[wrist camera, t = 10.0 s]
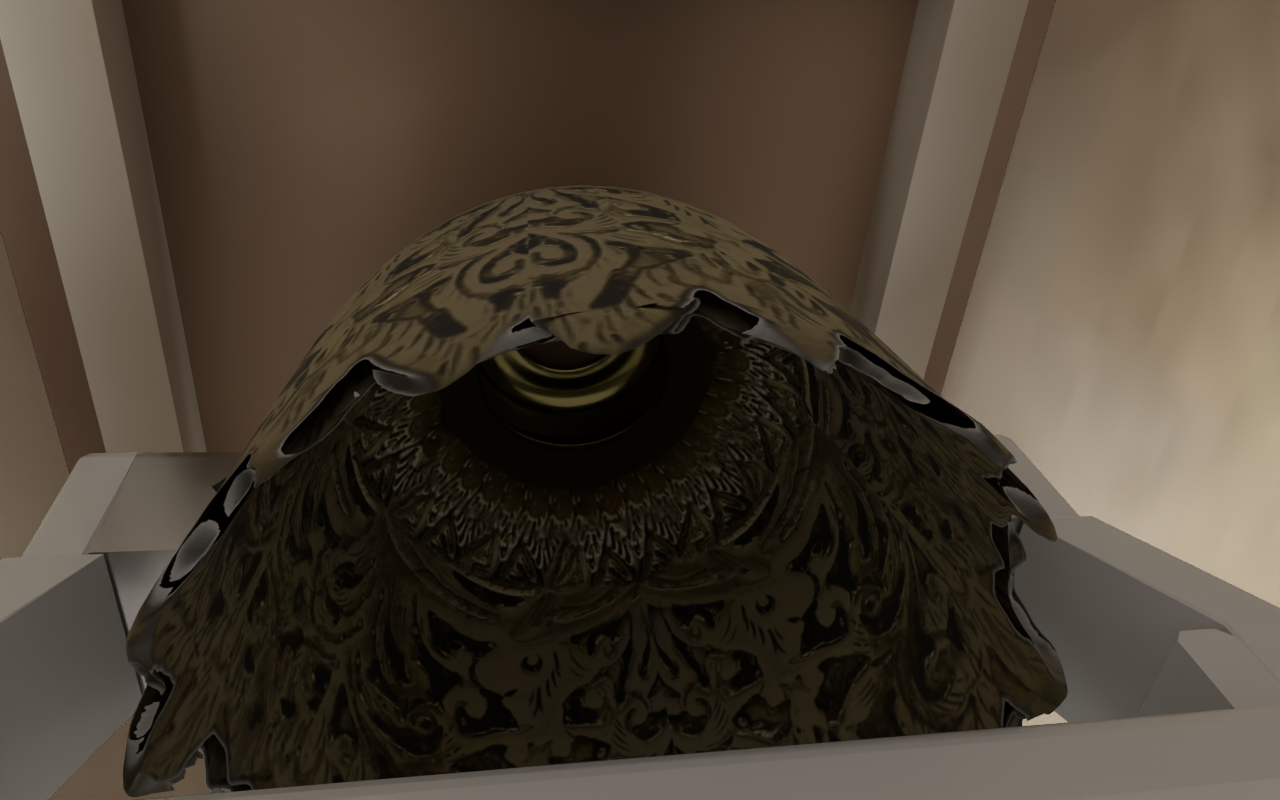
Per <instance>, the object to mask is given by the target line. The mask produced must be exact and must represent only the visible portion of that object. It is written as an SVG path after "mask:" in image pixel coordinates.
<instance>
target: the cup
mask: <svg viewBox="0 0 1280 800" xmlns="http://www.w3.org/2000/svg"><path fill="white" fill-rule="evenodd" d="M555 341H563V342H564V343H565V344H567V345H568V346H569V347H570V348H573V349H576V350H579V351H583V352H587V353H591V354H601V355H599V356H598V357H596V358H594V359H592V360H590V361H588V362H585V363H582V364H578V365H572V366H558V365H552V364H548V363H545V362H542V361H540V360H538V359H536V358H535V357H533V356H532V355H530V354H529V353H528V352H527V351H526V350H525V349H524V348H526V347H528V346H530V345H532V344H535V343H536V345H538V344H544V343H548V342H555ZM1015 463H1017V461H1016V459H1015V457H1014V456H1013V455H1012V453H1011V452H1010V451H1009V450H1008V449H1007V448H1006V447H1005V446H1004V445H1003V444H1002V443H1001V442H1000V441H999V440H998V439H997V438H996V437H995V436H994V435H993V434H992V433H991V432H990V431H989V430H987V429H986V428H985V427H984V426H983V425H982V424H981V423H979V422H978V421H976V420H975V419H974V418H972V417H971V416H969V415H968V414H966V413H965V412H963V411H962V410H960V409H959V408H957V407H956V406H954V405H952V404H951V403H949V402H948V401H946V400H944V399H943V398H942V397H941V396H940V395H939V394H938V393H937V392H936V391H935V390H934V389H932V388H931V387H930V386H929V385H928V384H927V383H926V382H925V381H924V380H923V379H922V378H921V377H920V376H919V375H918V374H917V373H916V372H914V371H913V370H912V369H911V368H910V367H909V366H908V365H907V364H906V363H905V362H904V361H903V360H902V359H901V358H900V357H899V356H897V355H896V354H895V353H894V352H893V351H892V350H891V349H890V348H889V347H888V346H887V345H886V344H885V343H884V342H882V341H881V340H880V339H879V338H878V337H877V336H876V335H875V334H874V333H873V332H872V331H871V330H870V329H868V328H867V327H866V326H865V325H864V324H863V323H862V322H861V321H860V320H858V319H857V318H856V317H855V316H854V315H853V314H852V313H851V312H850V311H849V310H847V309H846V308H845V307H844V306H843V305H842V304H841V303H839V302H838V301H837V300H836V299H835V298H834V297H833V296H832V295H830V294H829V293H828V292H827V291H826V290H825V289H824V288H822V287H821V286H820V285H819V284H818V283H817V282H815V281H814V280H813V279H812V278H811V277H810V276H808V275H807V274H806V273H805V272H803V271H802V270H801V269H799V268H798V267H797V266H796V265H794V264H793V263H792V262H790V261H789V260H788V259H786V258H785V257H784V256H782V255H781V254H779V253H778V252H777V251H775V250H774V249H772V248H771V247H770V246H768V245H767V244H765V243H764V242H763V241H761V240H759V239H758V238H756V237H755V236H753V235H751V234H750V233H748V232H747V231H745V230H743V229H741V228H739V227H738V226H736V225H734V224H732V223H730V222H728V221H726V220H725V219H723V218H721V217H719V216H717V215H715V214H712V213H710V212H707V211H705V210H702V209H700V208H697V207H695V206H692V205H690V204H687V203H684V202H681V201H678V200H675V199H672V198H668V197H665V196H661V195H657V194H653V193H650V192H646V191H640V190H634V189H627V188H621V187H614V186H590V185H577V186H562V187H549V188H543V189H538V190H532V191H526V192H521V193H516V194H513V195H509V196H506V197H503V198H499V199H496V200H492V201H489V202H486V203H484V204H481V205H479V206H476V207H474V208H472V209H469V210H467V211H465V212H462V213H460V214H457V215H455V216H454V217H452V218H450V219H448V220H447V221H445V222H443V223H441V224H439V225H438V226H436V227H434V228H432V229H430V230H429V231H427V232H426V233H424V234H423V235H421V236H420V237H418V238H417V239H415V240H414V241H413V242H411V243H410V244H409V245H407V246H406V247H404V248H403V249H402V250H400V251H399V252H398V253H396V254H395V255H393V256H392V257H391V258H390V259H389V260H388V261H386V262H385V263H384V264H383V265H382V266H381V267H380V268H379V269H378V270H377V271H376V272H375V273H374V274H372V275H371V276H370V277H369V278H368V279H367V280H366V281H365V282H364V283H363V284H362V286H361V287H360V288H359V289H358V290H357V291H356V292H355V293H354V294H353V295H352V296H351V298H350V299H349V300H348V301H347V302H346V303H345V305H344V306H343V307H342V308H341V309H340V311H339V312H338V313H337V314H336V315H335V317H334V318H333V319H332V320H331V321H330V323H329V324H328V325H327V327H326V328H325V329H324V331H323V332H322V333H321V335H320V336H319V337H318V339H317V340H316V341H315V343H314V344H313V346H312V347H311V349H310V350H309V352H308V353H307V355H306V356H305V357H304V359H303V360H302V362H301V363H300V365H299V366H298V368H297V369H296V371H295V372H294V374H293V375H292V377H291V378H290V380H289V381H288V383H287V384H286V386H285V387H284V389H283V391H282V392H281V394H280V395H279V397H278V398H277V400H276V401H275V403H274V404H273V406H272V407H271V409H270V411H269V412H268V414H267V415H266V417H265V418H264V420H263V421H262V423H261V425H260V426H259V428H258V429H257V431H256V432H255V434H254V436H253V437H252V439H251V440H250V442H249V443H248V445H247V446H246V448H245V450H244V451H243V453H242V454H241V456H240V457H239V459H238V461H237V462H236V464H235V465H234V467H233V468H232V470H231V472H230V473H229V475H228V476H227V478H226V480H225V481H224V483H223V484H222V486H221V488H220V489H219V490H218V492H217V493H216V495H215V496H214V497H213V499H212V500H211V501H210V503H209V504H208V506H207V507H206V509H205V510H204V512H203V513H202V515H201V516H200V518H199V519H198V521H197V522H196V524H195V525H194V527H193V528H192V529H191V531H190V532H189V533H188V535H187V536H186V538H185V539H184V541H183V542H182V544H181V545H180V547H179V548H178V550H177V551H176V553H175V554H174V556H173V557H172V559H171V560H170V562H169V563H168V565H167V566H166V568H165V569H164V571H163V572H162V574H161V575H160V577H159V578H158V580H157V581H156V583H155V585H154V586H153V588H152V590H151V591H150V593H149V595H148V596H147V598H146V599H145V601H144V603H143V604H142V606H141V608H140V609H139V612H138V614H137V616H136V618H135V620H134V622H133V624H132V627H131V629H130V631H129V633H128V636H127V640H126V653H127V657H128V663H130V664H131V666H132V667H134V669H135V671H136V672H137V673H138V674H140V675H142V676H144V677H145V682H146V684H147V686H146V688H145V690H144V692H143V695H142V697H141V699H140V701H139V703H138V707H137V709H136V711H135V714H134V716H133V719H132V722H131V725H130V729H129V734H128V740H127V746H126V753H125V760H124V769H123V785H124V790H125V792H126V793H127V795H128V796H131V797H138V796H143V795H147V794H152V793H158V792H165V791H172V790H174V788H173V787H172V786H171V785H173V784H174V783H177V782H178V781H180V780H182V779H184V774H185V768H188V767H190V766H193V765H195V762H196V760H197V758H202V759H203V757H204V756H203V755H202V754H201V753H200V752H199V751H198V750H197V749H198V748H199V747H200V748H201V749H203V752H204V755H205V765H206V783H207V786H208V787H209V788H210V789H213V791H212V792H211V794H213V793H224V791H222V790H221V789H220V788H227V789H230V790H231V792H236V791H248V790H260V789H272V788H284V787H296V786H307V785H319V784H331V783H343V782H355V781H367V780H379V779H390V778H402V777H414V776H426V775H438V774H450V773H462V772H474V771H485V770H497V769H509V768H521V767H533V766H545V765H557V764H569V763H581V762H594V761H606V760H618V759H630V758H643V757H655V756H667V755H679V754H692V753H704V752H716V751H729V750H741V749H753V748H765V747H778V746H790V745H802V744H815V743H827V742H839V741H851V740H864V739H876V738H888V737H900V736H912V735H924V734H936V733H948V732H960V731H972V730H984V729H996V728H1008V727H1020V726H1022V720H1023V719H1025V718H1027V721H1028V720H1030V719H1032V718H1034V717H1037V716H1039V715H1042V714H1044V713H1045V714H1050V713H1052V712H1053V711H1054V710H1055V709H1056V708H1058V707H1059V706H1060V705H1061V703H1062V702H1063V701H1064V700H1065V699H1066V697H1067V694H1068V688H1067V683H1066V678H1065V674H1064V671H1063V667H1062V665H1061V662H1060V660H1059V657H1058V654H1057V652H1056V650H1055V648H1054V646H1053V645H1052V644H1051V642H1050V641H1049V640H1048V639H1047V638H1046V637H1045V636H1044V635H1043V634H1042V633H1041V632H1040V630H1039V629H1038V628H1037V627H1036V626H1035V624H1034V622H1033V621H1032V619H1031V617H1030V615H1029V613H1028V611H1027V610H1026V608H1025V606H1024V605H1023V603H1022V602H1021V600H1020V598H1019V597H1018V595H1017V594H1016V592H1015V588H1014V575H1015V572H1014V570H1015V569H1016V568H1017V567H1018V566H1020V565H1021V564H1022V563H1024V562H1025V561H1026V558H1027V556H1026V552H1025V549H1024V546H1023V543H1022V541H1021V539H1020V537H1019V535H1018V534H1017V532H1016V531H1015V529H1014V521H1013V522H1012V515H1015V516H1016V517H1018V518H1019V519H1021V520H1022V521H1023V522H1024V523H1025V524H1026V525H1027V526H1028V527H1029V528H1031V529H1032V530H1033V531H1034V532H1036V533H1037V534H1038V535H1039V536H1042V537H1044V538H1045V539H1047V540H1049V541H1050V542H1055V543H1056V541H1057V534H1056V530H1055V526H1054V524H1053V522H1052V521H1051V519H1050V517H1049V515H1048V514H1047V512H1046V511H1045V509H1044V508H1043V506H1042V505H1041V504H1040V502H1039V501H1038V500H1037V498H1036V497H1035V496H1034V494H1033V493H1032V492H1031V491H1030V490H1029V488H1028V487H1027V486H1026V485H1025V484H1024V483H1023V482H1022V481H1021V480H1020V479H1019V478H1018V477H1017V476H1016V475H1015V474H1014V473H1013V472H1012V471H1011V470H1010V469H1009V467H1008V466H1009V465H1010V464H1015Z"/></svg>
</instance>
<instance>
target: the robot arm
mask: <svg viewBox="0 0 1280 800" xmlns="http://www.w3.org/2000/svg"><path fill="white" fill-rule="evenodd" d="M994 436H995V437H996V438H997V439H998V440H999V441H1000V442H1001V443H1002V444H1003V445H1004V446H1005V447H1006V448H1007V449H1008V450H1009V451H1010V452H1011V453H1012V455H1013V456H1014V457H1015V459H1016V461H1017V463H1015V464H1010V465H1009V466H1008V467H1009V469H1010V470H1011V471H1012V472H1013V473H1014V474H1015V475H1016V476H1017V477H1018V478H1019V479H1020V480H1021V481H1022V482H1023V483H1024V484H1025V485H1026V486H1027V487H1028V488H1029V490H1030V491H1031V492H1032V493H1033V494H1034V496H1035V497H1036V498H1037V500H1038V501H1039V502H1040V504H1041V505H1042V506H1043V508H1044V509H1045V511H1046V512H1047V514H1048V515H1049V517H1050V519H1051V521H1052V522H1053V524H1054V526H1055V530H1056V534H1057V541H1056V543H1055V542H1050V541H1049V540H1047V539H1045V538H1044V537H1042V536H1039V535H1038V534H1037V533H1036V532H1034V531H1033V530H1032V529H1031V528H1029V527H1028V526H1027V525H1026V524H1025V523H1024V522H1023V521H1022V520H1021V519H1019V518H1018V517H1016V516H1015V515H1012V522H1013V521H1014V529H1015V531H1016V532H1017V534H1018V535H1019V537H1020V539H1021V541H1022V543H1023V546H1024V549H1025V552H1026V556H1027V558H1026V561H1025V562H1024V563H1022V564H1021V565H1020V566H1018V567H1017V568H1016V569H1015V570H1014V572H1015V575H1014V588H1015V592H1016V594H1017V595H1018V597H1019V598H1020V600H1021V602H1022V603H1023V605H1024V606H1025V608H1026V610H1027V611H1028V613H1029V615H1030V617H1031V619H1032V621H1033V622H1034V624H1035V626H1036V627H1037V628H1038V629H1039V630H1040V632H1041V633H1042V634H1043V635H1044V636H1045V637H1046V638H1047V639H1048V640H1049V641H1050V642H1051V644H1052V645H1053V646H1054V648H1055V650H1056V652H1057V654H1058V657H1059V660H1060V662H1061V665H1062V667H1063V671H1064V674H1065V678H1066V683H1067V688H1068V694H1067V697H1066V699H1065V700H1064V701H1063V702H1062V703H1061V705H1060V706H1059V707H1058V708H1056V709H1055V710H1054V711H1055V712H1056V713H1058V714H1059V715H1060V716H1061V717H1063V718H1064V719H1065V720H1066V721H1068V722H1069V723H1057V724H1045V725H1033V726H1020V727H1008V728H996V729H984V730H972V731H960V732H948V733H936V734H924V735H912V736H900V737H888V738H876V739H864V740H851V741H839V742H827V743H815V744H802V745H790V746H778V747H765V748H753V749H741V750H729V751H716V752H704V753H692V754H679V755H667V756H655V757H643V758H630V759H618V760H606V761H594V762H581V763H569V764H557V765H545V766H533V767H521V768H509V769H497V770H485V771H474V772H462V773H450V774H438V775H426V776H414V777H402V778H390V779H379V780H367V781H355V782H343V783H331V784H319V785H307V786H296V787H284V788H272V789H260V790H248V791H236V792H224V793H213V794H201V795H189V796H176V797H164V798H151V799H138V800H1280V608H1279V607H1276V606H1274V605H1272V604H1270V603H1268V602H1266V601H1264V600H1262V599H1260V598H1258V597H1256V596H1254V595H1252V594H1250V593H1248V592H1246V591H1244V590H1242V589H1240V588H1238V587H1236V586H1234V585H1232V584H1229V583H1227V582H1225V581H1223V580H1221V579H1219V578H1217V577H1215V576H1213V575H1211V574H1209V573H1207V572H1205V571H1203V570H1201V569H1199V568H1197V567H1195V566H1193V565H1191V564H1189V563H1187V562H1184V561H1182V560H1180V559H1178V558H1176V557H1174V556H1172V555H1170V554H1168V553H1166V552H1164V551H1162V550H1160V549H1158V548H1156V547H1154V546H1152V545H1150V544H1148V543H1146V542H1144V541H1142V540H1140V539H1137V538H1135V537H1133V536H1131V535H1129V534H1127V533H1125V532H1123V531H1121V530H1119V529H1117V528H1115V527H1113V526H1111V525H1109V524H1107V523H1105V522H1103V521H1101V520H1099V519H1097V518H1095V517H1092V516H1083V517H1080V516H1079V515H1078V514H1077V513H1076V512H1075V511H1074V510H1073V508H1072V507H1071V506H1070V505H1069V504H1068V503H1067V502H1066V500H1065V499H1064V498H1063V497H1062V496H1061V495H1060V494H1059V493H1058V491H1057V490H1056V489H1055V488H1054V487H1053V486H1052V485H1051V484H1050V482H1049V481H1048V480H1047V479H1046V478H1045V477H1044V476H1043V475H1042V473H1041V472H1040V471H1039V470H1038V469H1037V468H1036V467H1035V466H1034V464H1033V463H1032V462H1031V461H1030V460H1029V459H1028V458H1027V457H1026V455H1025V454H1024V453H1023V452H1022V451H1021V450H1020V449H1019V448H1018V446H1017V445H1016V444H1015V443H1014V442H1013V441H1012V440H1011V439H1009V438H1007V437H1005V436H1002V435H994ZM242 453H243V452H144V453H142V454H141V453H138V452H127V453H90V454H88V455H86V456H84V457H81V458H80V459H79V460H78V462H77V463H76V465H75V467H74V468H73V470H72V472H71V473H70V475H69V477H68V479H67V480H66V482H65V484H64V485H63V487H62V489H61V490H60V492H59V494H58V495H57V497H56V499H55V501H54V502H53V504H52V506H51V507H50V509H49V511H48V512H47V514H46V516H45V517H44V519H43V521H42V523H41V524H40V526H39V528H38V529H37V531H36V533H35V534H34V536H33V538H32V539H31V541H30V543H29V545H28V546H27V548H26V550H25V551H24V553H23V555H22V556H21V557H10V558H3V559H1V560H0V800H48V799H49V798H50V797H51V796H52V795H53V794H54V793H55V792H56V791H57V790H58V789H59V788H60V787H61V786H62V785H63V784H64V783H65V782H66V781H67V780H68V779H69V778H70V777H71V776H72V775H73V774H74V773H75V772H76V771H77V770H78V769H79V768H80V767H81V766H82V765H83V764H84V763H85V762H86V761H87V760H88V759H89V758H90V757H91V756H92V755H93V754H94V753H95V752H96V751H97V750H98V749H99V748H100V747H101V746H102V745H103V744H104V743H105V742H106V741H107V740H108V739H109V738H110V737H111V736H112V735H113V734H114V733H115V732H116V731H117V730H118V729H119V728H120V727H121V726H122V725H123V724H124V723H125V722H126V721H127V720H128V719H129V718H130V717H131V716H132V715H133V714H134V713H135V711H136V709H137V707H138V703H139V701H140V699H141V697H142V695H143V692H144V690H145V688H146V686H147V684H146V682H145V677H144V676H142V675H140V674H138V673H137V672H136V671H135V669H134V667H132V666H131V664H130V663H128V657H127V653H126V640H127V636H128V633H129V631H130V629H131V627H132V624H133V622H134V620H135V618H136V616H137V614H138V612H139V609H140V608H141V606H142V604H143V603H144V601H145V599H146V598H147V596H148V595H149V593H150V591H151V590H152V588H153V586H154V585H155V583H156V581H157V580H158V578H159V577H160V575H161V574H162V572H163V571H164V569H165V568H166V566H167V565H168V563H169V562H170V560H171V559H172V557H173V556H174V554H175V553H176V551H177V550H178V548H179V547H180V545H181V544H182V542H183V541H184V539H185V538H186V536H187V535H188V533H189V532H190V531H191V529H192V528H193V527H194V525H195V524H196V522H197V521H198V519H199V518H200V516H201V515H202V513H203V512H204V510H205V509H206V507H207V506H208V504H209V503H210V501H211V500H212V499H213V497H214V496H215V495H216V493H217V492H218V490H219V489H220V488H221V486H222V484H223V483H224V481H225V480H226V478H227V476H228V475H229V473H230V472H231V470H232V468H233V467H234V465H235V464H236V462H237V461H238V459H239V457H240V456H241V454H242Z"/></svg>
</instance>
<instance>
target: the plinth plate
mask: <svg viewBox="0 0 1280 800" xmlns="http://www.w3.org/2000/svg"><path fill="white" fill-rule="evenodd" d="M1054 3H1055V0H0V231H1V234H2V238H3V241H4V245H5V248H6V252H7V255H8V259H9V262H10V266H11V269H12V273H13V276H14V280H15V284H16V287H17V291H18V294H19V298H20V301H21V305H22V308H23V312H24V315H25V319H26V322H27V326H28V329H29V333H30V336H31V340H32V343H33V347H34V350H35V354H36V357H37V361H38V364H39V368H40V371H41V375H42V378H43V382H44V385H45V389H46V392H47V396H48V400H49V403H50V407H51V410H52V414H53V417H54V421H55V424H56V428H57V431H58V435H59V438H60V442H61V445H62V449H63V452H64V456H65V459H66V463H67V466H68V470H69V473H71V472H72V470H73V468H74V467H75V465H76V463H77V462H78V460H79V459H80V458H81V457H84V456H86V455H88V454H90V453H127V452H138V453H141V454H142V453H144V452H243V451H244V450H245V448H246V446H247V445H248V443H249V442H250V440H251V439H252V437H253V436H254V434H255V432H256V431H257V429H258V428H259V426H260V425H261V423H262V421H263V420H264V418H265V417H266V415H267V414H268V412H269V411H270V409H271V407H272V406H273V404H274V403H275V401H276V400H277V398H278V397H279V395H280V394H281V392H282V391H283V389H284V387H285V386H286V384H287V383H288V381H289V380H290V378H291V377H292V375H293V374H294V372H295V371H296V369H297V368H298V366H299V365H300V363H301V362H302V360H303V359H304V357H305V356H306V355H307V353H308V352H309V350H310V349H311V347H312V346H313V344H314V343H315V341H316V340H317V339H318V337H319V336H320V335H321V333H322V332H323V331H324V329H325V328H326V327H327V325H328V324H329V323H330V321H331V320H332V319H333V318H334V317H335V315H336V314H337V313H338V312H339V311H340V309H341V308H342V307H343V306H344V305H345V303H346V302H347V301H348V300H349V299H350V298H351V296H352V295H353V294H354V293H355V292H356V291H357V290H358V289H359V288H360V287H361V286H362V284H363V283H364V282H365V281H366V280H367V279H368V278H369V277H370V276H371V275H372V274H374V273H375V272H376V271H377V270H378V269H379V268H380V267H381V266H382V265H383V264H384V263H385V262H386V261H388V260H389V259H390V258H391V257H392V256H393V255H395V254H396V253H398V252H399V251H400V250H402V249H403V248H404V247H406V246H407V245H409V244H410V243H411V242H413V241H414V240H415V239H417V238H418V237H420V236H421V235H423V234H424V233H426V232H427V231H429V230H430V229H432V228H434V227H436V226H438V225H439V224H441V223H443V222H445V221H447V220H448V219H450V218H452V217H454V216H455V215H457V214H460V213H462V212H465V211H467V210H469V209H472V208H474V207H476V206H479V205H481V204H484V203H486V202H489V201H492V200H496V199H499V198H503V197H506V196H509V195H513V194H516V193H521V192H526V191H532V190H538V189H543V188H549V187H562V186H577V185H590V186H614V187H621V188H627V189H634V190H640V191H646V192H650V193H653V194H657V195H661V196H665V197H668V198H672V199H675V200H678V201H681V202H684V203H687V204H690V205H692V206H695V207H697V208H700V209H702V210H705V211H707V212H710V213H712V214H715V215H717V216H719V217H721V218H723V219H725V220H726V221H728V222H730V223H732V224H734V225H736V226H738V227H739V228H741V229H743V230H745V231H747V232H748V233H750V234H751V235H753V236H755V237H756V238H758V239H759V240H761V241H763V242H764V243H765V244H767V245H768V246H770V247H771V248H772V249H774V250H775V251H777V252H778V253H779V254H781V255H782V256H784V257H785V258H786V259H788V260H789V261H790V262H792V263H793V264H794V265H796V266H797V267H798V268H799V269H801V270H802V271H803V272H805V273H806V274H807V275H808V276H810V277H811V278H812V279H813V280H814V281H815V282H817V283H818V284H819V285H820V286H821V287H822V288H824V289H825V290H826V291H827V292H828V293H829V294H830V295H832V296H833V297H834V298H835V299H836V300H837V301H838V302H839V303H841V304H842V305H843V306H844V307H845V308H846V309H847V310H849V311H850V312H851V313H852V314H853V315H854V316H855V317H856V318H857V319H858V320H860V321H861V322H862V323H863V324H864V325H865V326H866V327H867V328H868V329H870V330H871V331H872V332H873V333H874V334H875V335H876V336H877V337H878V338H879V339H880V340H881V341H882V342H884V343H885V344H886V345H887V346H888V347H889V348H890V349H891V350H892V351H893V352H894V353H895V354H896V355H897V356H899V357H900V358H901V359H902V360H903V361H904V362H905V363H906V364H907V365H908V366H909V367H910V368H911V369H912V370H913V371H914V372H916V373H917V374H918V375H919V376H920V377H921V378H922V379H923V380H924V381H925V382H926V383H927V384H928V385H929V386H930V387H931V388H932V389H934V390H935V391H936V392H937V393H938V394H939V395H940V394H941V390H942V387H943V384H944V380H945V377H946V373H947V370H948V367H949V363H950V360H951V356H952V353H953V349H954V346H955V343H956V339H957V336H958V332H959V329H960V325H961V322H962V319H963V315H964V312H965V308H966V305H967V301H968V298H969V295H970V291H971V288H972V284H973V281H974V277H975V274H976V271H977V267H978V264H979V260H980V257H981V253H982V250H983V247H984V243H985V240H986V236H987V233H988V229H989V226H990V223H991V219H992V216H993V212H994V209H995V205H996V202H997V199H998V195H999V192H1000V188H1001V185H1002V182H1003V178H1004V175H1005V171H1006V168H1007V164H1008V161H1009V158H1010V154H1011V151H1012V147H1013V144H1014V140H1015V137H1016V134H1017V130H1018V127H1019V123H1020V120H1021V116H1022V113H1023V110H1024V106H1025V103H1026V99H1027V96H1028V92H1029V89H1030V86H1031V82H1032V79H1033V75H1034V72H1035V68H1036V65H1037V62H1038V58H1039V55H1040V51H1041V48H1042V44H1043V41H1044V38H1045V34H1046V31H1047V27H1048V24H1049V20H1050V17H1051V14H1052V10H1053V7H1054ZM524 349H525V350H526V351H527V352H528V353H529V354H530V355H532V356H533V357H535V358H536V359H538V360H540V361H542V362H545V363H548V364H552V365H558V366H572V365H578V364H582V363H585V362H588V361H590V360H592V359H594V358H596V357H598V356H599V355H601V354H591V353H587V352H583V351H579V350H576V349H573V348H570V347H569V346H568V345H567V344H565V343H564V342H563V341H555V342H548V343H544V344H538V345H536V343H535V344H532V345H530V346H528V347H526V348H524Z"/></svg>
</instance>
